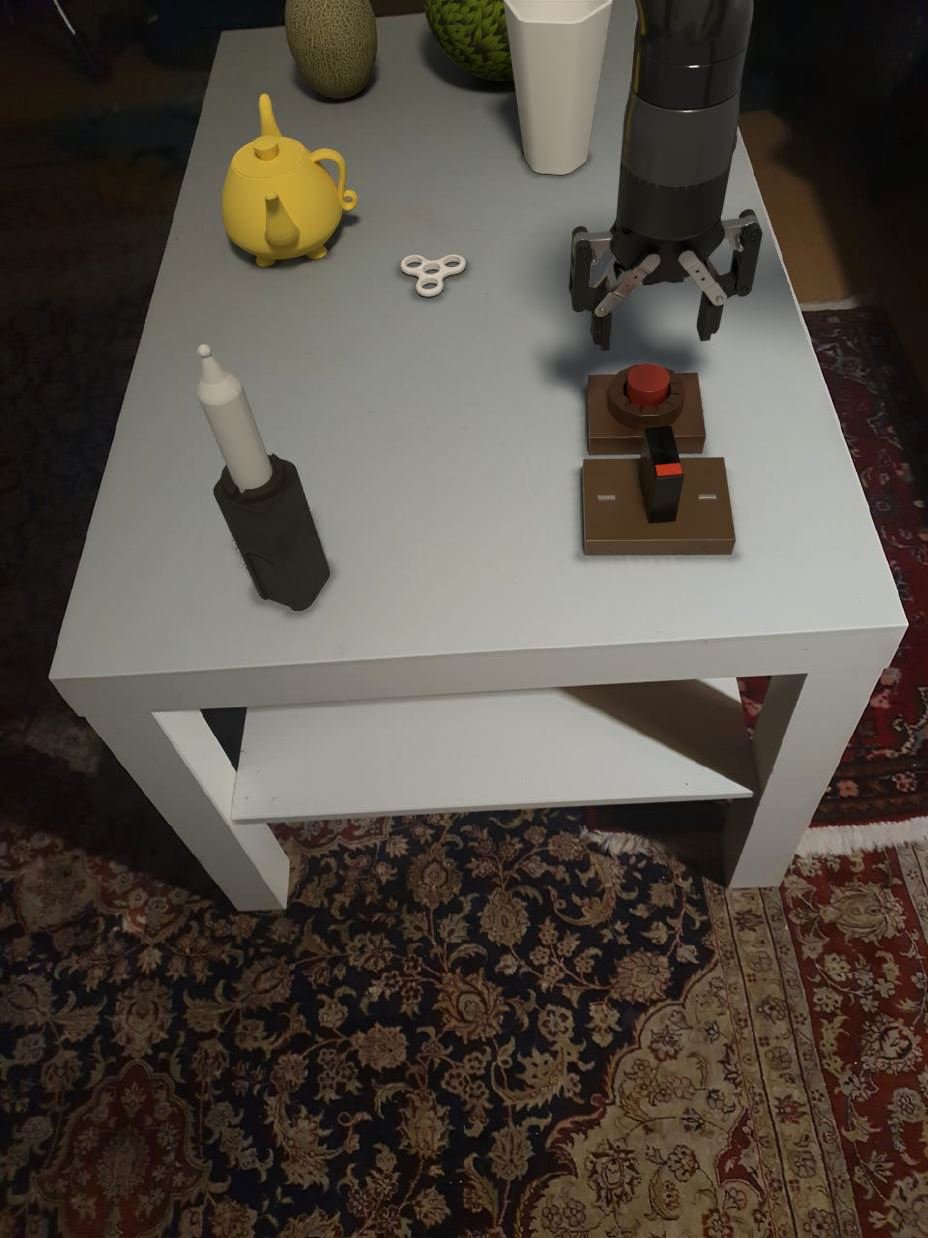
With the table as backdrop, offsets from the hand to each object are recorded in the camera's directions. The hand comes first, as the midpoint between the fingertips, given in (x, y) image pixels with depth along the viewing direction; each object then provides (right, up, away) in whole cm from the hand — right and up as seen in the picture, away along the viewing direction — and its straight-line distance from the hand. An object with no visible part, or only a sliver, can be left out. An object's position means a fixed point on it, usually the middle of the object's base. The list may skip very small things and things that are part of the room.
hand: (652, 339), depth 76 cm
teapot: (-34, +19, +27) cm, 48 cm away
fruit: (-32, +46, +44) cm, 71 cm away
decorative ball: (-10, +48, +44) cm, 66 cm away
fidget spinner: (-19, +13, +21) cm, 31 cm away
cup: (-5, +31, +32) cm, 45 cm away
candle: (-30, -20, +1) cm, 36 cm away
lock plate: (+1, -14, +2) cm, 14 cm away
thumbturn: (0, -13, 0) cm, 13 cm away
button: (+1, -3, +5) cm, 6 cm away
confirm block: (+1, -5, +8) cm, 9 cm away
